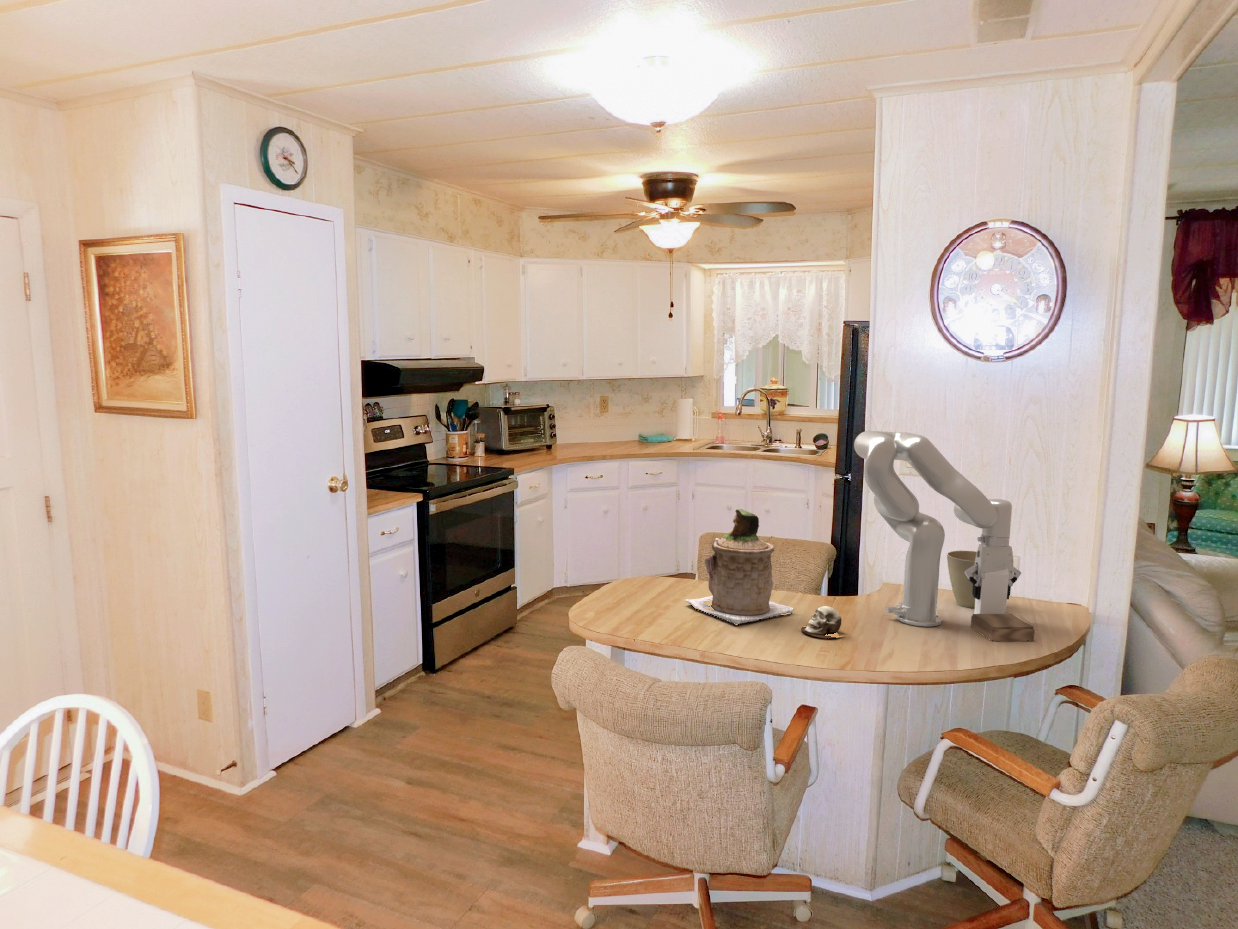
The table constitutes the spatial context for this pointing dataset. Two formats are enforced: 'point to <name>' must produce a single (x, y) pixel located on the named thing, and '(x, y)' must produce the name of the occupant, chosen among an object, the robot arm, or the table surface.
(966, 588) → the plant pot
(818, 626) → the skull
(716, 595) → the cookie jar
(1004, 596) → the milk carton
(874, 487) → the robot arm
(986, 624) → the block
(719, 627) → the table surface
